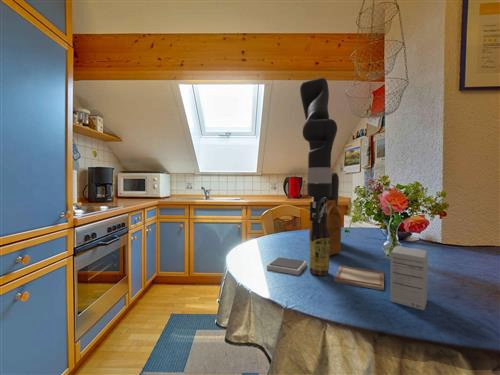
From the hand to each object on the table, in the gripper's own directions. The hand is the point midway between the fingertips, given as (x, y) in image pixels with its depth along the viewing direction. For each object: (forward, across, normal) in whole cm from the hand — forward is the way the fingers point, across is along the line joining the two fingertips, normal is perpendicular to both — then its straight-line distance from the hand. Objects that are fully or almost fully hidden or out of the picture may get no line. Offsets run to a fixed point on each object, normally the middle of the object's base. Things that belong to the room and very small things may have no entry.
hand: (318, 232), depth 82 cm
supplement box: (+14, +9, +24) cm, 29 cm away
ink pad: (+13, 0, -11) cm, 17 cm away
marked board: (+13, -1, +12) cm, 18 cm away
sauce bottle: (+14, 0, 0) cm, 14 cm away
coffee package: (+13, -24, -3) cm, 28 cm away
